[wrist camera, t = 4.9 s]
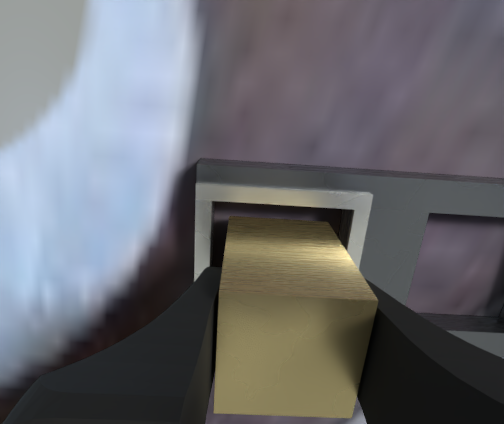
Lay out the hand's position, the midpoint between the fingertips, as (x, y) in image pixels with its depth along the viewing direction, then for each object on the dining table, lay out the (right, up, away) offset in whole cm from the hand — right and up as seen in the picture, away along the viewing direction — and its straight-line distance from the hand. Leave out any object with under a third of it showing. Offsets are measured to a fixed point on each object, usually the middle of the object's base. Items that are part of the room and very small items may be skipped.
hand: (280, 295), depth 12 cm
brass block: (0, +1, +3) cm, 3 cm away
